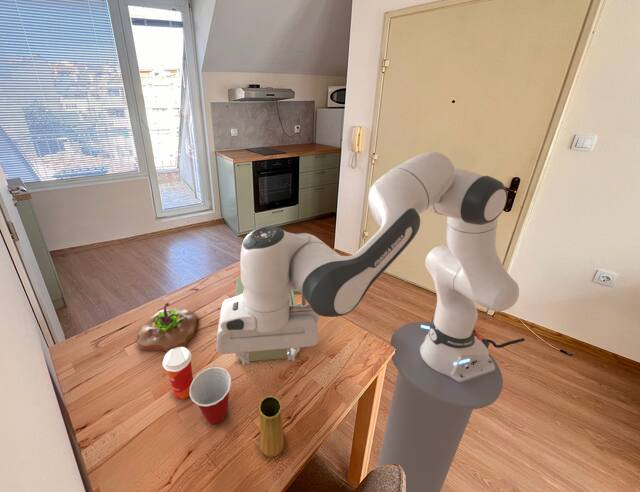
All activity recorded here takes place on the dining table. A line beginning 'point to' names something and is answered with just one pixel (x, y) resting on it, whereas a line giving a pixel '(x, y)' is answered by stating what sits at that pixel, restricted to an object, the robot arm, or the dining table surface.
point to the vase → (271, 426)
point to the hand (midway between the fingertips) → (268, 360)
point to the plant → (168, 329)
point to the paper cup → (179, 371)
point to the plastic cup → (211, 393)
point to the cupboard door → (292, 293)
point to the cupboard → (266, 353)
